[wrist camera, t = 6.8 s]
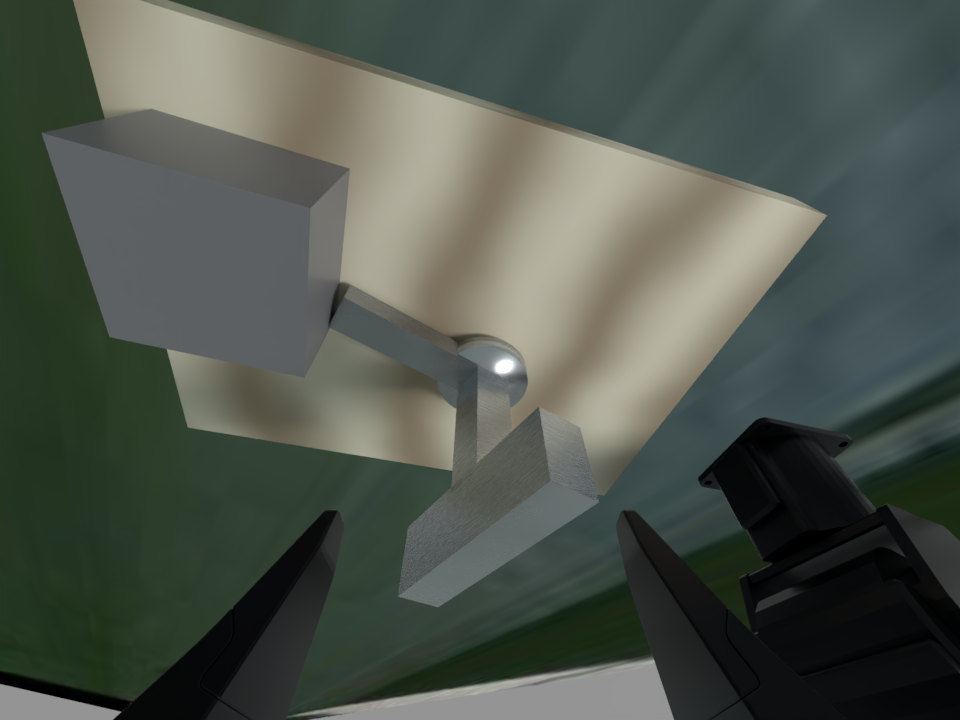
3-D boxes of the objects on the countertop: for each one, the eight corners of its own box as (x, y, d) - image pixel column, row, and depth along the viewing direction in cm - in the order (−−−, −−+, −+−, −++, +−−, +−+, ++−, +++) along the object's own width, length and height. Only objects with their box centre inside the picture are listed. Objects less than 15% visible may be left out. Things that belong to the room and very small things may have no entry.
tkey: (386, 216, 14) (305, 372, 8) (574, 333, 17) (632, 516, 11) (308, 363, 18) (211, 546, 12) (471, 436, 21) (466, 614, 15)
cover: (350, 168, 14) (310, 208, 10) (336, 315, 17) (304, 377, 14) (151, 108, 12) (41, 133, 9) (182, 278, 16) (109, 337, 13)
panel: (793, 197, 16) (827, 215, 14) (596, 468, 27) (604, 495, 25) (120, -15, 12) (67, -22, 11) (207, 401, 23) (187, 427, 21)
